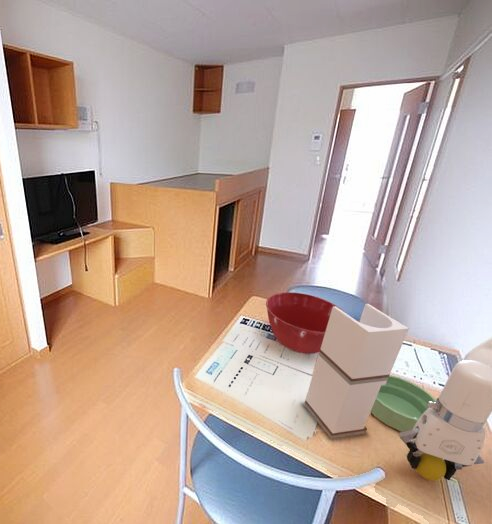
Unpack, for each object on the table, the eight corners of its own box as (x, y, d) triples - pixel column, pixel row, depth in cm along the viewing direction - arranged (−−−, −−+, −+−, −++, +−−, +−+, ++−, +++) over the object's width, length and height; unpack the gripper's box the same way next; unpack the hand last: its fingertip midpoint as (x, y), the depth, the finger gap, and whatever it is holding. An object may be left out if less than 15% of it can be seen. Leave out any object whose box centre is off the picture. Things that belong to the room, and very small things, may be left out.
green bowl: (420, 398, 96) (427, 384, 94) (446, 446, 81) (455, 430, 79) (355, 381, 103) (360, 367, 100) (368, 423, 88) (374, 408, 85)
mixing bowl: (348, 375, 105) (360, 338, 99) (260, 357, 113) (267, 322, 108) (329, 330, 130) (339, 298, 124) (259, 318, 138) (265, 287, 132)
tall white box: (364, 433, 85) (408, 328, 71) (330, 438, 83) (368, 332, 70) (334, 400, 95) (368, 303, 81) (304, 404, 93) (332, 306, 80)
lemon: (403, 464, 77) (414, 442, 74) (425, 465, 77) (437, 443, 73) (420, 487, 72) (433, 465, 68) (444, 488, 71) (458, 466, 68)
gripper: (415, 413, 66) (388, 468, 73) (524, 443, 60) (483, 500, 67) (403, 389, 72) (380, 442, 79) (500, 413, 66) (465, 468, 73)
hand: (427, 468), depth 73 cm, fingers closed on lemon, 5 cm apart
